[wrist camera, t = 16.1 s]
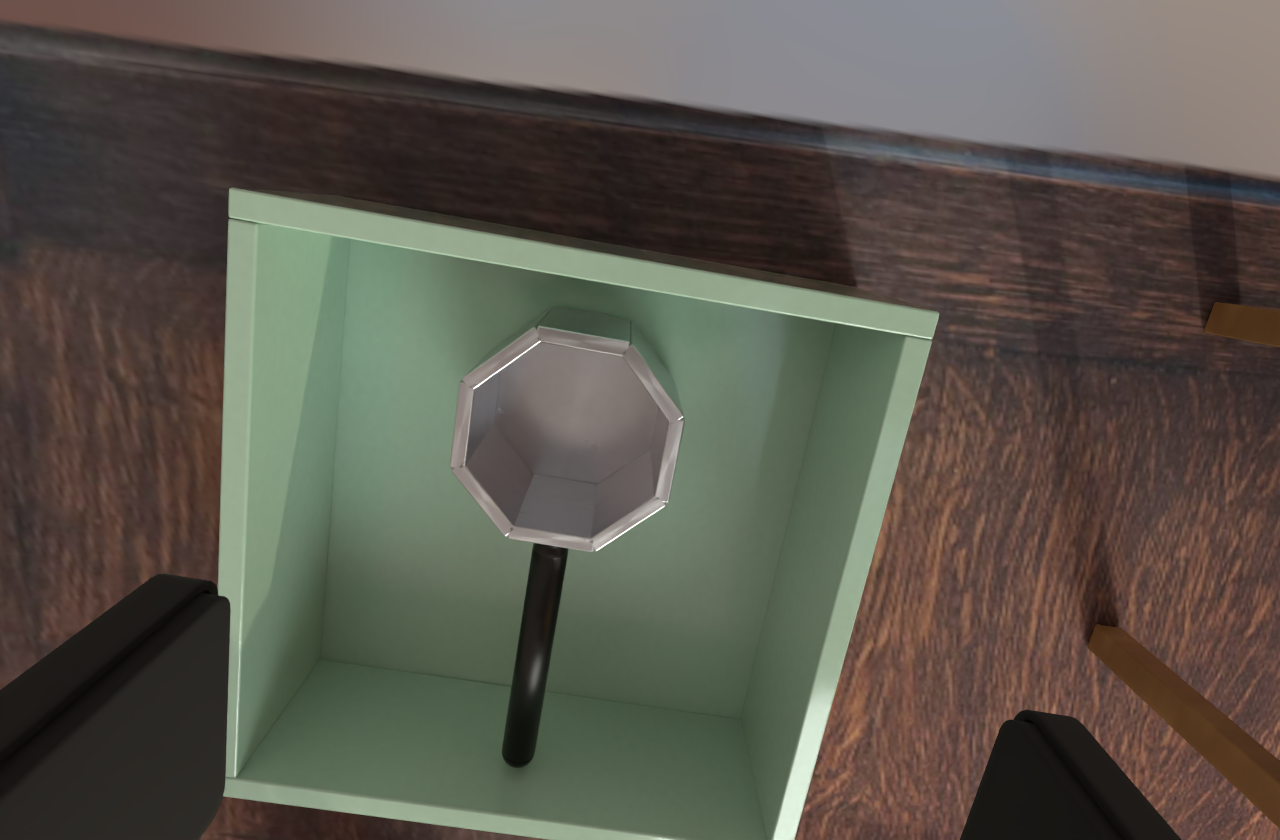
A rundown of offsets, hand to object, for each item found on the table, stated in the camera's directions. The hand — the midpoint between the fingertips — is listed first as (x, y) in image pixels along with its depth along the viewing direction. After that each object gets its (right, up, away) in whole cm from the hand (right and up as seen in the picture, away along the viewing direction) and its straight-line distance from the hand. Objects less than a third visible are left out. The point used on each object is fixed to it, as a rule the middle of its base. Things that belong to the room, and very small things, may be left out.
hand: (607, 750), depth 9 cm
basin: (-3, +1, +21) cm, 22 cm away
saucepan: (-3, 0, +21) cm, 21 cm away
